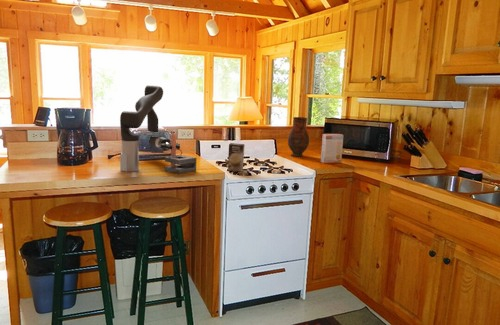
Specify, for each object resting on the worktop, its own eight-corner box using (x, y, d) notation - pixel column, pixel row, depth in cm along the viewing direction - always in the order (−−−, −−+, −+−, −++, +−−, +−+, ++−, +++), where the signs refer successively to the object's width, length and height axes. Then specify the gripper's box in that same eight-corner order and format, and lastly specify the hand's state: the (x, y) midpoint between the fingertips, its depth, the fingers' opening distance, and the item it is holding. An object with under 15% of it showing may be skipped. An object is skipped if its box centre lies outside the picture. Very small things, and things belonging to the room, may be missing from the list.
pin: (172, 167, 228) (173, 134, 225) (169, 166, 230) (170, 133, 226) (176, 166, 231) (177, 134, 227) (173, 165, 232) (173, 133, 229)
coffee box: (227, 170, 226) (228, 144, 223) (228, 168, 233) (229, 142, 230) (242, 171, 226) (243, 145, 223) (243, 169, 232) (244, 143, 229)
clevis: (178, 174, 210) (179, 160, 209) (164, 170, 217) (164, 157, 216) (196, 171, 221) (196, 157, 219) (182, 167, 228) (182, 154, 226)
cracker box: (336, 162, 276) (339, 133, 272) (341, 163, 270) (344, 134, 266) (319, 162, 271) (322, 133, 267) (324, 163, 266) (326, 134, 262)
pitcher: (290, 158, 282) (293, 118, 277) (282, 153, 303) (284, 115, 297) (311, 158, 286) (314, 118, 280) (301, 153, 306) (304, 116, 301)
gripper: (152, 138, 234) (164, 142, 221) (173, 137, 243) (186, 141, 230) (152, 150, 236) (164, 154, 222) (173, 148, 244) (185, 153, 231)
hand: (175, 147), depth 226 cm, fingers open, 4 cm apart
